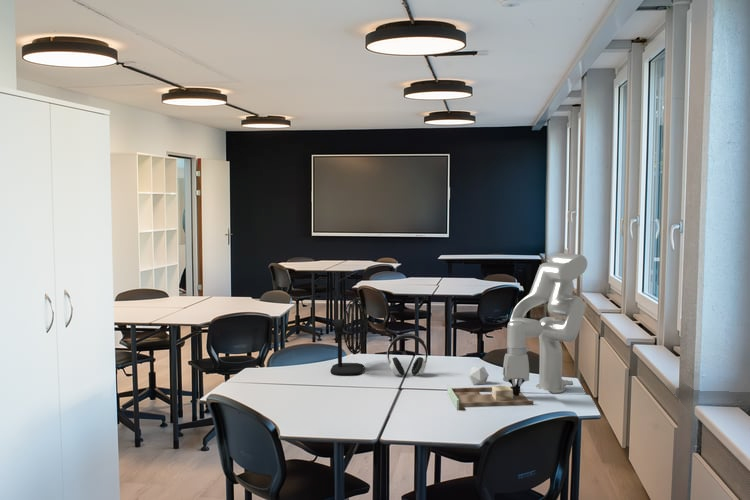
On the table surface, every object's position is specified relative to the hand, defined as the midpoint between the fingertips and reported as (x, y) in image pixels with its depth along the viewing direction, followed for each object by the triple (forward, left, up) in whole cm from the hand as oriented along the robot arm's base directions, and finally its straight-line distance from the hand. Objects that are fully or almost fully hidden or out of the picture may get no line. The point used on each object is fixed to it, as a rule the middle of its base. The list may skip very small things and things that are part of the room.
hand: (516, 394), depth 290 cm
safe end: (+26, 0, -2) cm, 26 cm away
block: (+6, 0, -1) cm, 6 cm away
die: (+10, -26, -3) cm, 28 cm away
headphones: (+40, -44, -3) cm, 59 cm away
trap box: (+12, 0, -2) cm, 12 cm away
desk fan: (+67, -56, -2) cm, 87 cm away
